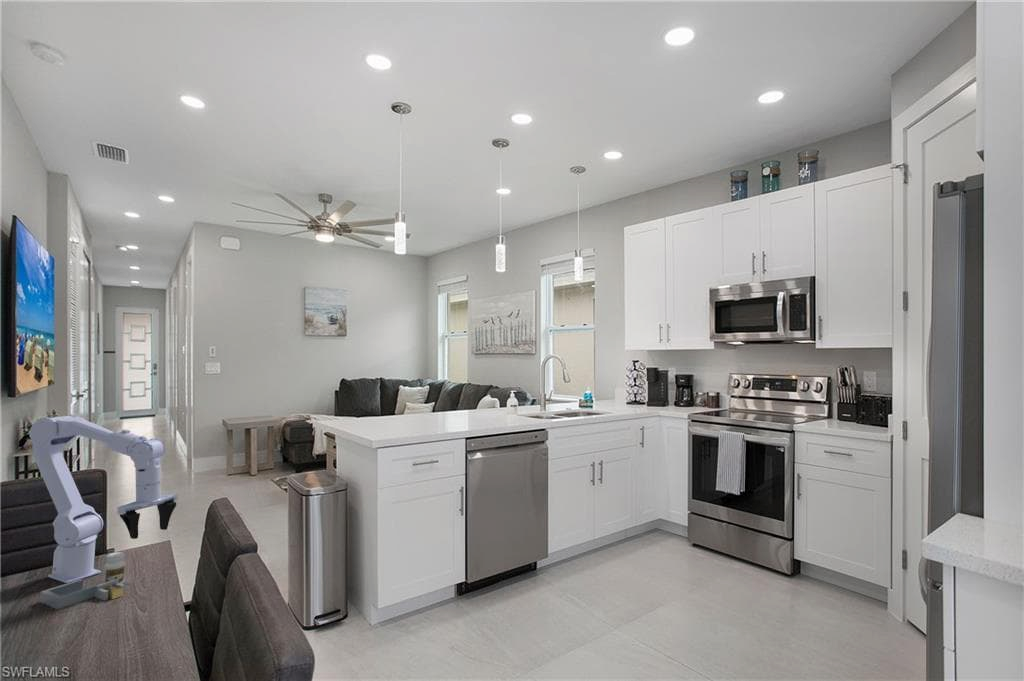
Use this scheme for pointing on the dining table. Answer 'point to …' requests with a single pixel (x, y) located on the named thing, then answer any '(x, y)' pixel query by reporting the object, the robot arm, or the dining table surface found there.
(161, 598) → the dining table surface
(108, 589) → the lock bar
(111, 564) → the pill bottle
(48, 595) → the dock bay
